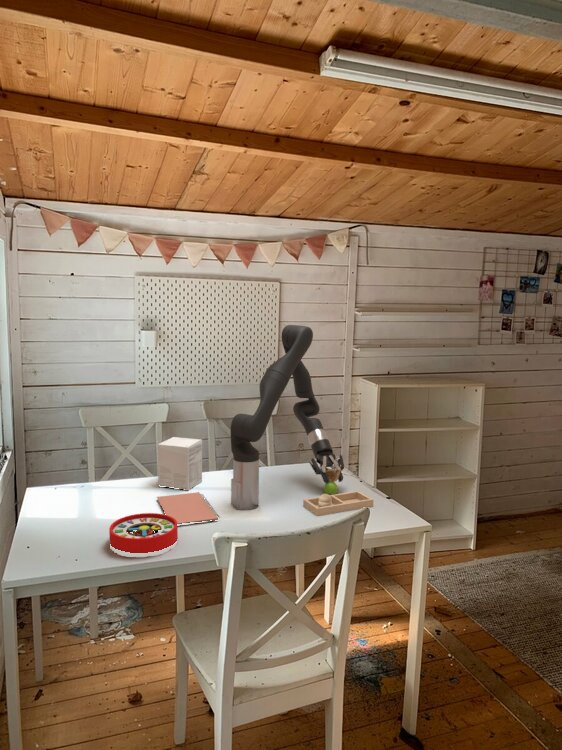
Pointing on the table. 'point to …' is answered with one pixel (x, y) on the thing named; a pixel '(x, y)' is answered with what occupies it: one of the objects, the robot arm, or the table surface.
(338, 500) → the divided tray
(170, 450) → the supplement box
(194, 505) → the notebook
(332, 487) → the snail figurine
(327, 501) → the beige domed knob
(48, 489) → the table surface
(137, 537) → the toy clock
